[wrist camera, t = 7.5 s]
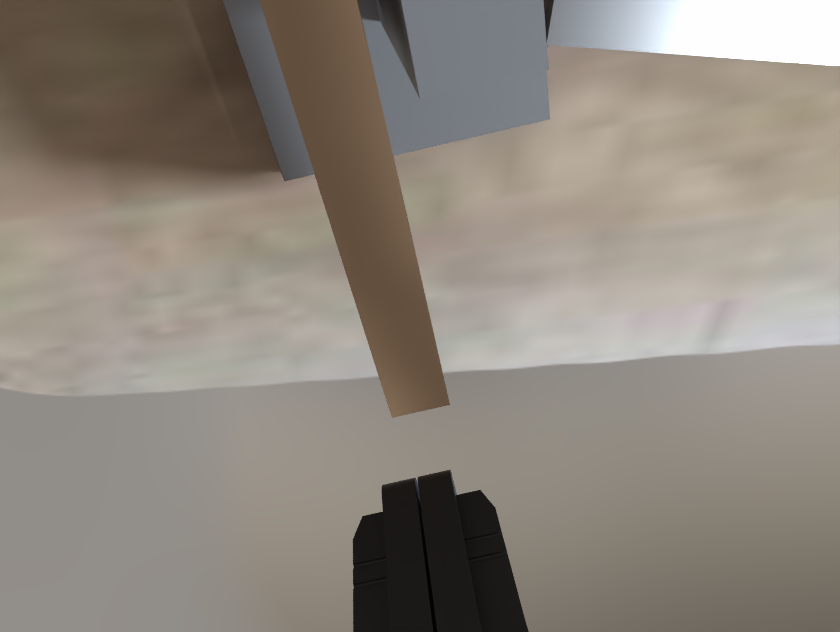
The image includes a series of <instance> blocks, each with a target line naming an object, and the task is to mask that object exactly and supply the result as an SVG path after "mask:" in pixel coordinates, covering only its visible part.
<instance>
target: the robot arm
mask: <svg viewBox="0 0 840 632" xmlns="http://www.w3.org/2000/svg"><path fill="white" fill-rule="evenodd" d="M382 504H383V512H379V513H375V514H371V515H366V516H363V517H362V519H361V521H360V524H359V526H358V528H357V531H356V533H355V536H354V538H353V565H354V569H353V585H354V589H353V625H354V626H353V632H528V628H527V625H526V622H525V618H524V614H523V611H522V607H521V604H520V599H519V596H518V592H517V588H516V584H515V580H514V577H513V573H512V569H511V566H510V562H509V558H508V555H507V550H506V547H505V543H504V539H503V536H502V532H501V528H500V524H499V521H498V517H497V513H496V509H495V507H494V506H493V505H492V503H491V502H490V501H489V500H488V499H487V498H486V496H485V495H484V494H483V493H482V492H481V490H478V491H473V492H469V493H464V494H460V495H457V494H456V490H455V486H454V481H453V478H452V474H451V470H447V471H443V472H438V473H434V474H429V475H425V476H420V477H418V483H417V480H416V478H412V479H407V480H403V481H398V482H394V483H389V484H385V485H382Z"/></svg>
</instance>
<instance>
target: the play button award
mask: <svg viewBox="0 0 840 632" xmlns="http://www.w3.org/2000/svg"><path fill="white" fill-rule="evenodd" d="M545 28H546V41H547V45H555V46H569V47H583V48H597V49H611V50H625V51H639V52H653V53H667V54H681V55H695V56H709V57H723V58H737V59H751V60H765V61H779V62H793V63H807V64H821V65H835V66H840V0H549V1H548V7H547V13H546V19H545Z"/></svg>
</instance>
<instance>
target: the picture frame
mask: <svg viewBox="0 0 840 632" xmlns="http://www.w3.org/2000/svg"><path fill="white" fill-rule="evenodd" d="M259 1H260V4H261V7H262V10H263V13H264V16H265V20H266V23H267V26H268V29H269V32H270V35H271V38H272V42H273V45H274V48H275V51H276V54H277V57H278V60H279V64H280V67H281V70H282V73H283V76H284V79H285V83H286V86H287V89H288V92H289V95H290V98H291V101H292V105H293V108H294V111H295V114H296V117H297V120H298V123H299V127H300V130H301V133H302V136H303V139H304V142H305V145H306V149H307V152H308V155H309V158H310V161H311V164H312V167H313V171H314V174H315V177H316V180H317V183H318V186H319V190H320V193H321V196H322V199H323V202H324V205H325V208H326V212H327V215H328V218H329V221H330V224H331V227H332V230H333V234H334V237H335V240H336V243H337V246H338V249H339V252H340V256H341V259H342V262H343V265H344V268H345V271H346V274H347V278H348V281H349V284H350V287H351V290H352V293H353V297H354V300H355V303H356V306H357V309H358V312H359V315H360V319H361V322H362V325H363V328H364V331H365V334H366V337H367V341H368V344H369V347H370V350H371V353H372V356H373V359H374V363H375V366H376V369H377V372H378V375H379V378H380V381H381V385H382V388H383V391H384V394H385V397H386V400H387V403H388V406H389V410H390V413H391V416H392V417H397V416H402V415H406V414H410V413H415V412H419V411H424V410H428V409H433V408H437V407H442V406H446V405H450V404H449V399H448V395H447V390H446V386H445V382H444V377H443V373H442V368H441V364H440V359H439V355H438V351H437V346H436V342H435V337H434V333H433V328H432V324H431V320H430V315H429V311H428V306H427V302H426V298H425V293H424V289H423V284H422V280H421V276H420V271H419V267H418V262H417V258H416V254H415V249H414V245H413V240H412V236H411V232H410V227H409V223H408V218H407V214H406V210H405V205H404V201H403V196H402V192H401V188H400V183H399V179H398V175H397V170H396V166H395V161H394V157H393V153H392V148H391V144H390V140H389V135H388V131H387V127H386V122H385V118H384V113H383V109H382V105H381V100H380V96H379V92H378V87H377V83H376V78H375V74H374V70H373V65H372V61H371V57H370V52H369V48H368V43H367V39H366V35H365V30H364V26H363V22H362V17H361V13H360V8H359V4H358V0H259Z"/></svg>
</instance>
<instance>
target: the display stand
mask: <svg viewBox="0 0 840 632" xmlns="http://www.w3.org/2000/svg"><path fill="white" fill-rule="evenodd" d="M223 3H224V6H225V9H226V12H227V15H228V18H229V21H230V24H231V27H232V30H233V33H234V36H235V39H236V41H237V44H238V47H239V50H240V53H241V56H242V59H243V62H244V65H245V68H246V71H247V74H248V77H249V80H250V82H251V85H252V88H253V91H254V94H255V97H256V100H257V103H258V106H259V109H260V112H261V115H262V118H263V121H264V123H265V126H266V129H267V132H268V135H269V138H270V141H271V144H272V147H273V150H274V153H275V156H276V159H277V162H278V164H279V167H280V170H281V173H282V176H283V179H284V181H287V180H291V179H295V178H300V177H304V176H308V175H313V174H314V171H313V167H312V164H311V161H310V158H309V155H308V152H307V149H306V145H305V142H304V139H303V136H302V133H301V130H300V127H299V123H298V120H297V117H296V114H295V111H294V108H293V105H292V101H291V98H290V95H289V92H288V89H287V86H286V83H285V79H284V76H283V73H282V70H281V67H280V64H279V60H278V57H277V54H276V51H275V48H274V45H273V42H272V38H271V35H270V32H269V29H268V26H267V23H266V20H265V16H264V13H263V10H262V7H261V4H260V1H259V0H223ZM358 4H359V8H360V13H361V17H362V22H363V26H364V30H365V35H366V39H367V43H368V48H369V52H370V57H371V61H372V65H373V70H374V74H375V78H376V83H377V87H378V92H379V96H380V100H381V105H382V109H383V113H384V118H385V122H386V127H387V131H388V135H389V140H390V144H391V148H392V153H393V156H394V155H398V154H403V153H407V152H411V151H415V150H420V149H424V148H428V147H433V146H437V145H441V144H445V143H450V142H454V141H458V140H463V139H467V138H471V137H475V136H480V135H484V134H488V133H493V132H497V131H501V130H505V129H510V128H514V127H518V126H523V125H527V124H531V123H535V122H540V121H544V120H548V119H550V115H549V102H548V88H547V75H546V70H548V69H549V68H548V55H547V41H546V28H545V14H544V1H543V0H358Z"/></svg>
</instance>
